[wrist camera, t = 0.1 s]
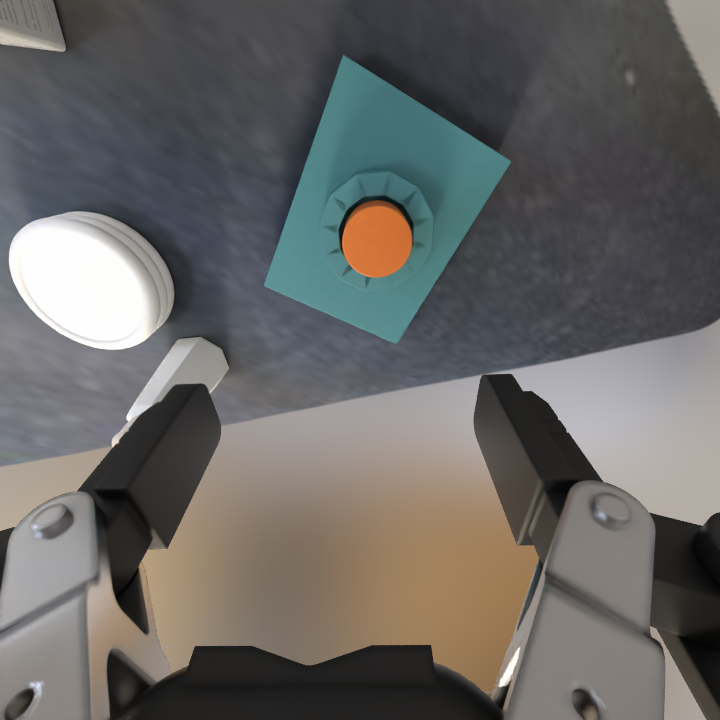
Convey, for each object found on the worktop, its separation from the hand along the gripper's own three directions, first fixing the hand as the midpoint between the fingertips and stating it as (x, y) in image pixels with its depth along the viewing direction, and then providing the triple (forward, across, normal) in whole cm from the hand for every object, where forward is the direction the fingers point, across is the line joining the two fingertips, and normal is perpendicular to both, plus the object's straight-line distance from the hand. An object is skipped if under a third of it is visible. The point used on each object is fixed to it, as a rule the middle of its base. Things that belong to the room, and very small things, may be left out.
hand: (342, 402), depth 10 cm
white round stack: (+19, +20, +2) cm, 27 cm away
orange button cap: (+14, -1, -2) cm, 14 cm away
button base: (+19, -1, -2) cm, 19 cm away
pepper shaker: (+19, +15, +10) cm, 26 cm away
